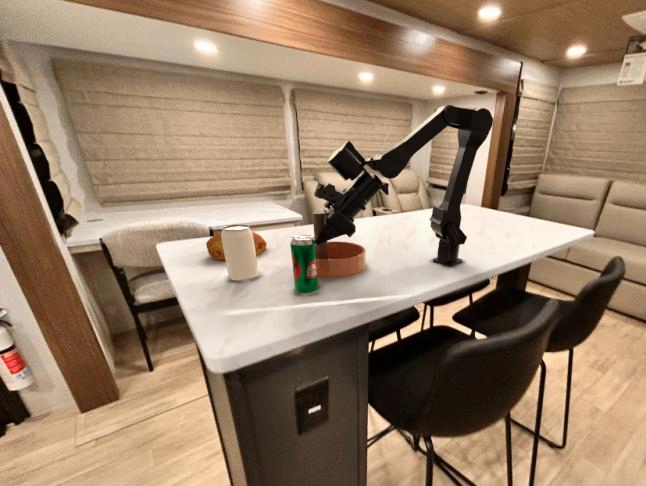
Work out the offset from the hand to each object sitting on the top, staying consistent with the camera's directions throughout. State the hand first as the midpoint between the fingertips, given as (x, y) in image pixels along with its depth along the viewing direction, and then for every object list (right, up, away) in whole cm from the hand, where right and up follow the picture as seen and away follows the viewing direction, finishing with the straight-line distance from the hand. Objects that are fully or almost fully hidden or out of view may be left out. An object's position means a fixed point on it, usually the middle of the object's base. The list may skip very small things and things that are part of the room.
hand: (315, 241), depth 75 cm
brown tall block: (+1, -5, +3) cm, 6 cm away
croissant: (-26, -2, +14) cm, 29 cm away
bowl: (+3, -6, +6) cm, 9 cm away
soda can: (0, -12, -7) cm, 14 cm away
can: (-16, -9, -2) cm, 19 cm away
